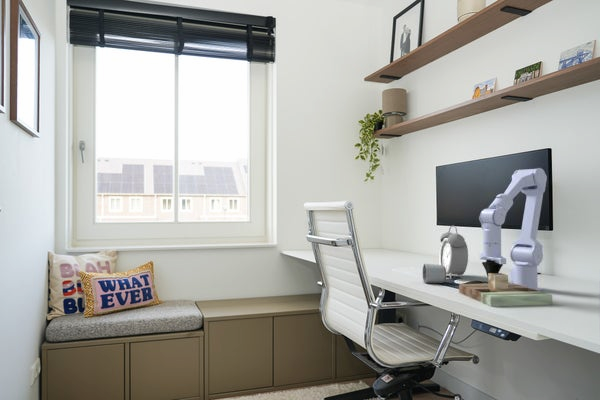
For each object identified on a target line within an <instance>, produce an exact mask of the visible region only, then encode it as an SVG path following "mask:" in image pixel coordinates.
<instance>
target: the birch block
mask: <svg viewBox="0 0 600 400" xmlns="http://www.w3.org/2000/svg"><path fill="white" fill-rule="evenodd" d="M487 281H488V282H487V283H488V287H491V288H494V289H508V283H509V275H508V274H505V273H503V272H502V273H501V272H499V273H488V277H487Z"/></svg>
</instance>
